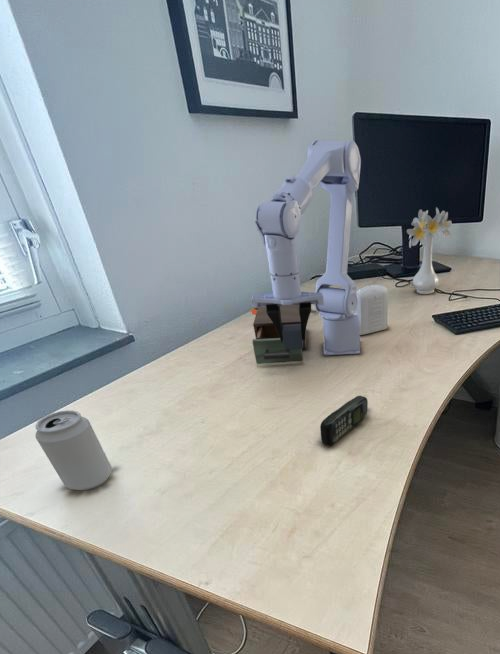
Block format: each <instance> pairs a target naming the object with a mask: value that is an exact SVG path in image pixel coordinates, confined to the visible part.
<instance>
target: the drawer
mask: <svg viewBox="0 0 500 654" xmlns="http://www.w3.org/2000/svg"><path fill="white" fill-rule="evenodd" d="M251 342H252V346H253V352H254V357H255V362H256V365H261V364H280V363H281V364H282V363H297V362H298V363H300V362H304V358H303V357H304V356H303V350H302V349H284V342H283V341H282V342H281V340H280V336H279V334H278V331H277V329H276V327H275V326H263V327H259V331H258V334H257V339H256V338H253V339H252V341H251Z"/></svg>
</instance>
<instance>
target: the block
mask: <svg viewBox="0 0 500 654" xmlns="http://www.w3.org/2000/svg"><path fill="white" fill-rule="evenodd" d="M282 335H283V342H284V349H302V348H303V340H302V333H301V324H288V325H283V328H282Z"/></svg>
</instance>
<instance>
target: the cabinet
mask: <svg viewBox="0 0 500 654" xmlns="http://www.w3.org/2000/svg"><path fill="white" fill-rule="evenodd" d="M280 313H281V321H282V326H283V325H288V324H301V320H300V313H299V305H287V306H280ZM252 325H253V331H254V336H255V339H257V334H258V331H259V327H263V326H275V325H274V324H273V322H272V321H271V319H270V318H269V316H268V315H267V312H266V307H258V310H257V313H256V315H255V317H254V319H253V324H252ZM307 331H308V330H306V332H305V340H303V348H302V351H306V350H307Z"/></svg>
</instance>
